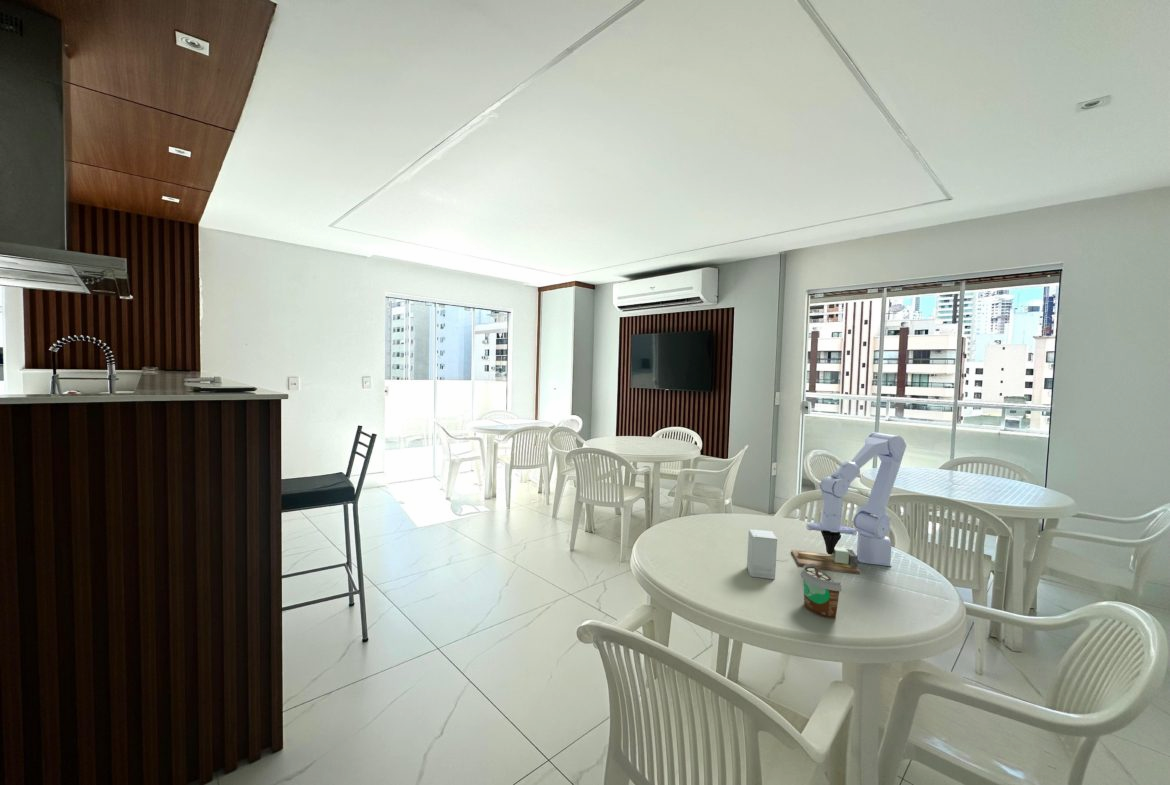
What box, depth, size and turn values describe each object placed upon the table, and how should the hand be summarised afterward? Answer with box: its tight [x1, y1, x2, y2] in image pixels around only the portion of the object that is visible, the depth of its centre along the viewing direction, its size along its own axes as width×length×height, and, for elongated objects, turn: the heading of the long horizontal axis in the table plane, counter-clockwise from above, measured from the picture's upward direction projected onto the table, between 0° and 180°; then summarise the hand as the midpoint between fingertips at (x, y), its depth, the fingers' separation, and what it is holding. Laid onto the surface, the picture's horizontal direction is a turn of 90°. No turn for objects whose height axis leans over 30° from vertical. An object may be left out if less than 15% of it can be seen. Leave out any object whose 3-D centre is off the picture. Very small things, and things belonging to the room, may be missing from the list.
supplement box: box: [746, 528, 778, 580], centre depth 140 cm, size 7×7×13 cm
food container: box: [800, 563, 842, 619], centre depth 119 cm, size 12×6×10 cm, turn 5°
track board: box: [791, 548, 861, 575], centre depth 151 cm, size 18×12×4 cm, turn 75°
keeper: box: [832, 545, 849, 564], centre depth 149 cm, size 4×4×4 cm
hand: (829, 553), depth 150 cm, fingers closed
